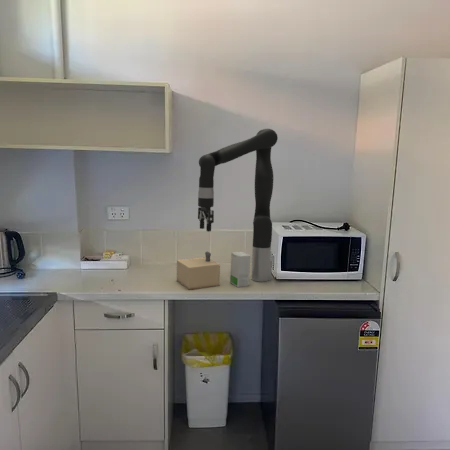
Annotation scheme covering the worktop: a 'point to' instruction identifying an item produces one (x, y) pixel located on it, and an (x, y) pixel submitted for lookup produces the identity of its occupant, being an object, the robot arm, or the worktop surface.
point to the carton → (198, 276)
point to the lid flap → (198, 262)
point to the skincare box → (240, 269)
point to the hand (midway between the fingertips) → (205, 229)
